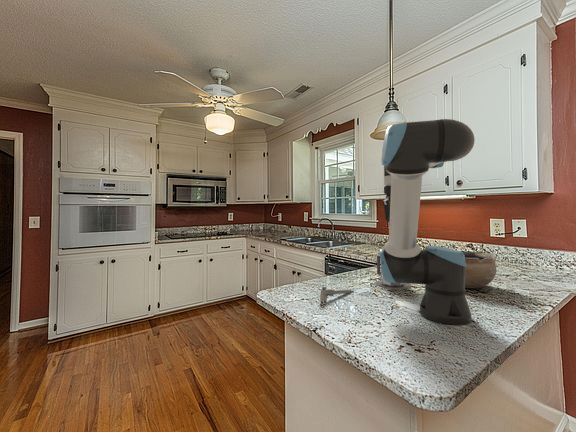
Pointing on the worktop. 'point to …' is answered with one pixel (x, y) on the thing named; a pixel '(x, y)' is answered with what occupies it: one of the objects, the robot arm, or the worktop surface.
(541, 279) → the worktop surface
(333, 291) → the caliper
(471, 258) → the ceramic bowl
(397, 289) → the trivet
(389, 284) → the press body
